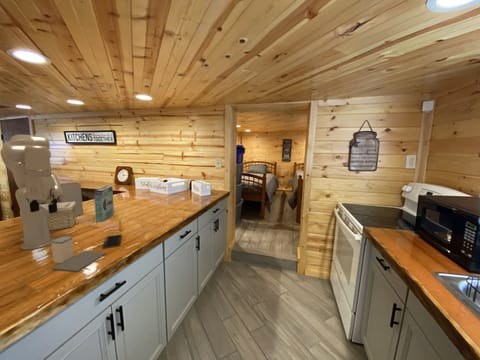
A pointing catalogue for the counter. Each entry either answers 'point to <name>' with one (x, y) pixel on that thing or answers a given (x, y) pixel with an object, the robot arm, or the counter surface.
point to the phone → (112, 241)
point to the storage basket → (61, 215)
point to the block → (62, 249)
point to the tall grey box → (73, 196)
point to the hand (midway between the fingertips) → (44, 211)
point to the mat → (79, 261)
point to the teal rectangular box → (103, 203)
